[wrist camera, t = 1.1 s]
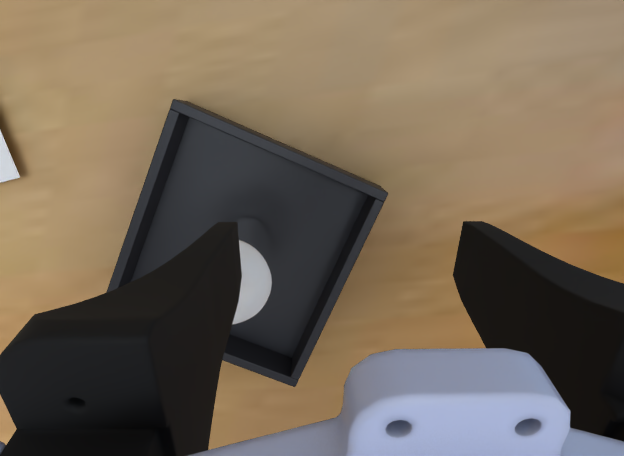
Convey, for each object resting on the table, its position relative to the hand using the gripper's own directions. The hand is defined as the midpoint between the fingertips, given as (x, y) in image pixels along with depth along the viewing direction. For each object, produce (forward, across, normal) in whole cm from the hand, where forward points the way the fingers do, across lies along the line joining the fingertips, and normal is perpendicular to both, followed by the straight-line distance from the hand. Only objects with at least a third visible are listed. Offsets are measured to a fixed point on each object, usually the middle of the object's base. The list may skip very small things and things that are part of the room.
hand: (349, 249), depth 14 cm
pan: (+14, +6, +8) cm, 17 cm away
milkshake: (+14, +6, +8) cm, 17 cm away
